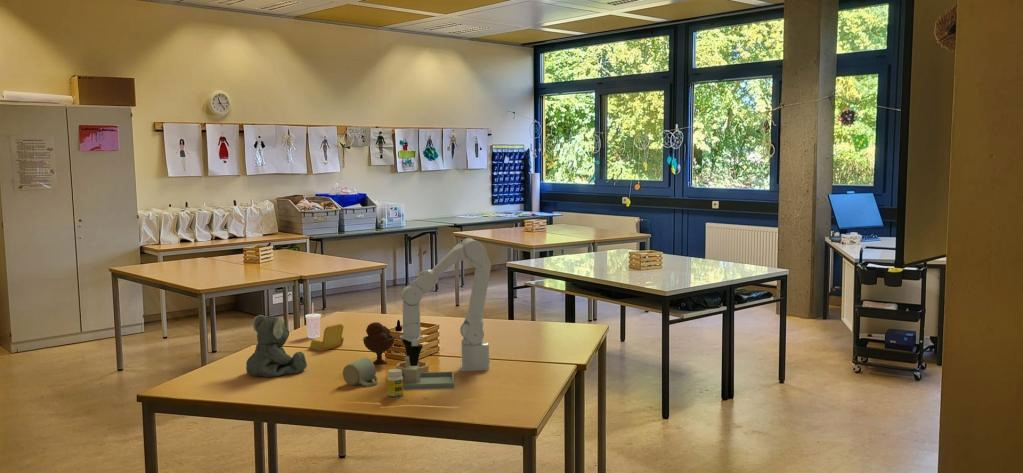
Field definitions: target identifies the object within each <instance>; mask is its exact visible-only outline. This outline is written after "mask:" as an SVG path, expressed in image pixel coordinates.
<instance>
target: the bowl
mask: <svg viewBox="0 0 1023 473" xmlns="http://www.w3.org/2000/svg"><path fill="white" fill-rule="evenodd" d="M429 365H430V364H429V362H427V361H425V360H424V361H423V360H419V366H420V372H430V367H429ZM395 369H401V370H402V373H404V369H405V360H404V361H400V362H398V363H396V365H395Z"/></svg>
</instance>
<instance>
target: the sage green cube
mask: <svg viewBox="0 0 1023 473" xmlns="http://www.w3.org/2000/svg"><path fill="white" fill-rule="evenodd" d="M404 361H405V368H406V367H407V366H411V365H410V360H409V356H407V355H405V356H404ZM419 361H420V360H419V359H418V364H417V366H419Z"/></svg>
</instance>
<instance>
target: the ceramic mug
mask: <svg viewBox="0 0 1023 473" xmlns="http://www.w3.org/2000/svg"><path fill="white" fill-rule="evenodd" d="M373 362H374V361H373V360H371V359H370V358H368V357H361V358H359V359H357V360H355V361H351V362H350V363H348V364H347V365H345V366H344V368H343V370H342V377H343V380H344V382H345V383H346V384H347V385H349V386H358V385H361V386H364V387H373V386H376V385H377V384H378V382H379V379H378V377H377V375H376V373H377V371H376V365H374V364H373ZM372 380H373V381H375V382H370V381H372Z"/></svg>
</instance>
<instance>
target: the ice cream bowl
mask: <svg viewBox="0 0 1023 473" xmlns="http://www.w3.org/2000/svg"><path fill="white" fill-rule="evenodd" d="M365 332H366V336H363V338H362V341H363V345H364V346H365V348H366V349H367V350H369V351H370V352H372V353H374V354H376V359H375V360H374V361H372V362H373V364H374V366H381V365H383V366H385V365H386V366H388V361H386V360H384V359H383V353H385V352H387V351H389V350H390V349H391V348H392V347H393V345H394V342H395V335H393V334H391V330H390V329H389V328H388V327H387V326H385V325H383V324H381V323H380V322H377V321H375V322H371V323H370V324H368V325H367V327H366V328H365Z"/></svg>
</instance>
